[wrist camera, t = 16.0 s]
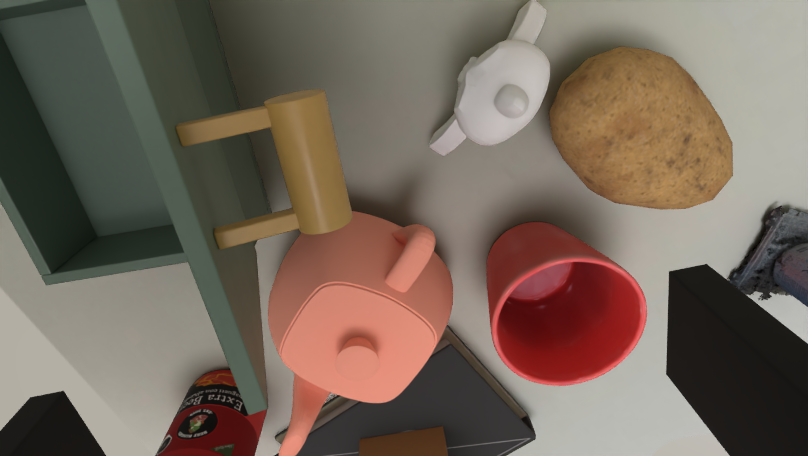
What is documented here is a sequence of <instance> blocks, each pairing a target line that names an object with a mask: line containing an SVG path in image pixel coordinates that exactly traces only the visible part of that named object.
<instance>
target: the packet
mask: <svg viewBox="0 0 808 456" xmlns="http://www.w3.org/2000/svg"><path fill="white" fill-rule="evenodd" d="M359 456H448V453H447V447H446V441H445V435H444V429H443V426H441V427H434V428H428V429H421V430H415V431H409V432H402V433H396V434H389V435H383V436H376V437H370V438H363V439H360V442H359Z"/></svg>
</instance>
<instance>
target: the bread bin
mask: <svg viewBox="0 0 808 456" xmlns="http://www.w3.org/2000/svg"><path fill="white" fill-rule="evenodd" d="M174 1H175V4H176V7H177V10H178V13H179V16H180V19H181V22H182V26H183V29H184V32H185V35H186V38H187V41H188V44H189V47H190V50H191V53H192V56H193V59H194V62H195V66H196V69H197V72H198V75H199V78H200V81H201V84H202V87H203V90H204V93H205V96H206V99H207V102H208V106H209V109H210V112H211V115H212V116H217V115H222V114H226V113H231V112H236V111H241V108H240V105H239V102H238V98H237V95H236V92H235V88H234V85H233V81H232V78H231V75H230V71H229V68H228V65H227V61H226V58H225V55H224V51H223V48H222V45H221V41H220V38H219V35H218V31H217V28H216V24H215V21H214V18H213V14H212V11H211V8H210V4H209V1H208V0H174ZM220 143H221V146H222V149H223V152H224V155H225V158H226V161H227V164H228V167H229V170H230V173H231V176H232V179H233V183H234V186H235V189H236V192H237V195H238V198H239V201H240V204H241V207H242V210H243V213H244V216H245V220H248V219H251V218H255V217H259V216H263V215H267V214H271V213H272V212H271V209H270V206H269V202H268V199H267V196H266V192H265V189H264V185H263V182H262V179H261V175H260V172H259V169H258V165H257V162H256V159H255V155H254V152H253V149H252V145H251V142H250V138H249V135H248V133H244V134H239V135H235V136H230V137H225V138H221V139H220ZM0 202H1V204H2V206H3V207H4V209H5V211H6V213H7V215H8V216H9V218H10V220H11V222H12V224H13V226H14V227H15V229H16V231H17V233H18V235H19V237H20V238H21V240H22V242H23V244H24V246H25V248H26V249H27V251H28V253H29V255H30V257H31V258H32V260H33V262H34V264H35V266H36V268H37V269H38V271H39V273H40V275H42V279H43V280H44V282H45V284H46V285H51V284H57V283H63V282H69V281H75V280H81V279H87V278H93V277H100V276H106V275H112V274H118V273H124V272H130V271H136V270H142V269H148V268H154V267H160V266H166V265H172V264H178V263H184V262H188V261H187V258H186V256H185V253H184V251H183V248H182V246H181V243H180V240H179V238H178V235H177V233H176V230H175V228H174V225H173V223H172V220H171V218H170V215H169V213H168V210H167V208H166V205H165V202H164V200H163V197H162V195H161V192H160V190H159V187H158V185H157V182H156V180H155V177H154V175H153V172H152V170H151V167H150V164H149V162H148V159H147V157H146V154H145V152H144V149H143V147H142V144H141V142H140V139H139V137H138V134H137V132H136V129H135V127H134V124H133V121H132V119H131V116H130V114H129V111H128V109H127V106H126V104H125V101H124V99H123V96H122V94H121V91H120V89H119V86H118V83H117V81H116V78H115V76H114V73H113V71H112V68H111V66H110V63H109V61H108V58H107V56H106V53H105V51H104V48H103V46H102V43H101V40H100V38H99V35H98V33H97V30H96V28H95V25H94V23H93V20H92V18H91V15H90V13H89V10H88V8H87V5H86V2H85V0H0ZM256 242H257V240H255V241H253V244H254V246H255V244H256Z"/></svg>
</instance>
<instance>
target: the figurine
mask: <svg viewBox="0 0 808 456" xmlns="http://www.w3.org/2000/svg"><path fill="white" fill-rule="evenodd" d="M546 15H547V11H546V10H545V8H544V7H542V6H541V5H540V4H539V3H538V2H537V1H535V0H530V1H529V2H528V3H526V4H525V5H524V6H523V7H522V8H521V9H520V10H519V11H518V14H517V17H516V20H515V23H514V25H513V27H512V29H511V31H510V34H509V36H508V37H507V39H506V40H505V41H502V42H499V43H497V44H496V45H495V46H493V47H492V48H491V49H488V50H487V51H486V52H485V53H483V54H482V55H481V56H480V57H479V58H477V57H471V58H470V60H469V62H468V63H467V64H466V65H465V66H464V68H463V70H462V71H461V72H460V74H459V77H458V79H457V81H458V85H459V89H458V92H457V96H456V103H455V107H454V114H453V116H452V117H451V118H450V119H449V120H448V121H447V122H446V123H445V124H444V125H443V126H442V127H441V128H439V129H438V130H437V131H436V132H435V133H434V135H433V137H432V139H431V142H430V145H429V147H430V148H431V149H432V150H434V151H435V152H437V153H438V154H440V155H443V156H445V155H446V154H448V153H450V152H451V151H452V150H454V149H455V148H456V147H457V146H458V145H459V144H460V143H461V142H462V141H463V140H464V139H465V138H466V137H468V138H469V139H471V140H472V141H474V142H475V143H477V144H480V145H496V144H498V143H501V142H503V141H505V140H507V139H509V138H510V137H512V136H513V135H514V134H516V133H517V132H519V131H520V130H521V129H522V128H524V127H525V126H526V125H527V124H528V123H529V122H530V121H531V120H532V119H533V117H534V116H535V115H536V113H537V111H538V110H539V108H540V105H541V103H542V101H543V98H544V96H545V93H546V91H547V87H548V83H549V80H550V63H549V60H548V58H547V57H546V55H545V54H544V53H543V52H542V51H541V50H540V49H539V48H538V47H536V46H535V45H534V43H535V41H536V39H537V37H538V35H539V33H540V31H541V29H542V27H543V24H544V21H545V18H546Z"/></svg>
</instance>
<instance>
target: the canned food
mask: <svg viewBox="0 0 808 456" xmlns="http://www.w3.org/2000/svg"><path fill="white" fill-rule="evenodd" d="M266 410H267V409H266ZM266 410H263V411H260V412H257V413H254V414H251V415H249V414H248V413H247V410H246V408H245V405H244V402H243V400H242V397H241V395H240V392H239V390H238V387H237V385H236V382H235V380H234V377H233V375H232V372H231V370H217V371H213V372H210V373H207V374H205V375H203V376H202V377H201V378H199V379H198V380H197V381H196V382H195V383H194V384H193V385H192V386H191V387H190V389H189V390H188V392H187V394H186V396H185V398H184V400H183V402H182V404H181V406H180V408H179V410H178V412H177V414H176V416H175V418H174V420H173V422H172V424H171V426H170V428H169V430H168V432H167V434H166V436H165V438H164V440H163V442H162V444H161V446H160V448H159V450H158V451H157V453H156V455H155V456H255V452H256V448H257V445H258V441H259V438H260V434H261V430H262V427H263V423H264V419H265V416H266Z"/></svg>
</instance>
